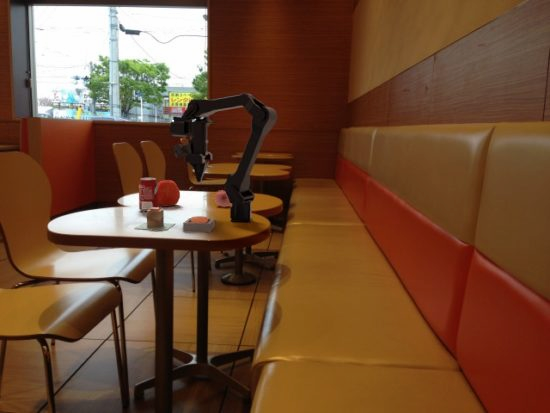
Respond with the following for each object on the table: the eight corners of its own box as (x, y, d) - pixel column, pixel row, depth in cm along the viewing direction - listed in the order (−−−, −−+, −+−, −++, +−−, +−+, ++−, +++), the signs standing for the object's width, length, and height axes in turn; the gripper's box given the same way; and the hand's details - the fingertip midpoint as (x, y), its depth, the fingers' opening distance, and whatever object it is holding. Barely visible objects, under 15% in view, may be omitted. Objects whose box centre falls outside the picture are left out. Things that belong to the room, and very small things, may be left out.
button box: (214, 226, 142) (214, 218, 142) (209, 232, 134) (209, 223, 134) (189, 225, 143) (189, 218, 142) (183, 231, 135) (183, 222, 134)
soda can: (153, 212, 163) (152, 179, 162) (135, 211, 165) (135, 178, 163) (161, 209, 170) (160, 178, 168) (144, 208, 171) (144, 177, 169)
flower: (216, 190, 186) (218, 184, 181) (234, 198, 187) (237, 192, 182) (208, 205, 182) (211, 199, 177) (227, 213, 183) (230, 208, 178)
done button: (209, 226, 141) (209, 216, 140) (205, 229, 136) (205, 219, 135) (193, 225, 141) (193, 216, 141) (189, 228, 136) (189, 219, 136)
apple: (176, 208, 175) (176, 181, 173) (150, 207, 175) (149, 180, 173) (182, 203, 185) (182, 178, 183) (157, 203, 185) (157, 177, 183)
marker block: (163, 224, 142) (163, 207, 141) (159, 227, 138) (159, 209, 137) (151, 224, 142) (150, 206, 141) (147, 227, 138) (146, 208, 137)
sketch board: (175, 224, 144) (175, 223, 144) (167, 230, 136) (167, 229, 136) (144, 223, 145) (144, 222, 145) (134, 228, 136) (134, 228, 136)
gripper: (182, 136, 166) (182, 178, 168) (168, 136, 147) (168, 184, 150) (212, 137, 165) (212, 179, 168) (201, 137, 147) (201, 185, 149)
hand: (198, 181), depth 159 cm, fingers closed
